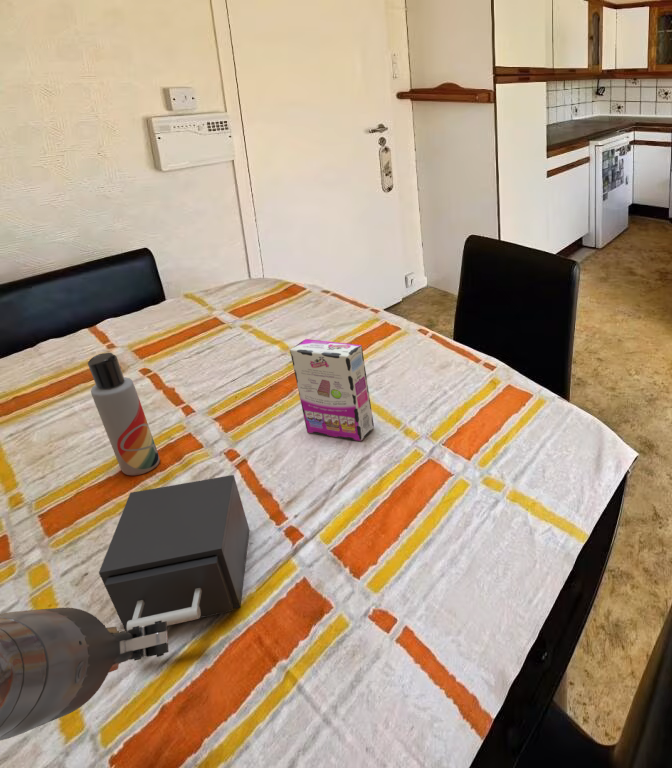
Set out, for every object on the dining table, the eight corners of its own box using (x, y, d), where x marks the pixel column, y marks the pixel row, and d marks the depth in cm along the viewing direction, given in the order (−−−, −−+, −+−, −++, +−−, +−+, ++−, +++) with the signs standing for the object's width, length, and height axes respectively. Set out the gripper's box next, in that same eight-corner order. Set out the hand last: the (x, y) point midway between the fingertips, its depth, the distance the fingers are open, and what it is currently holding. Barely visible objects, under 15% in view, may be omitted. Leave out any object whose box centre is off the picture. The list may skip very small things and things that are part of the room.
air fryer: (240, 607, 76) (221, 548, 71) (126, 632, 73) (98, 572, 68) (249, 529, 88) (233, 474, 84) (152, 548, 85) (130, 492, 81)
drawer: (228, 639, 71) (211, 589, 67) (117, 664, 68) (93, 614, 64) (242, 536, 86) (228, 491, 82) (151, 553, 83) (133, 508, 79)
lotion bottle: (161, 469, 101) (123, 359, 92) (122, 480, 99) (77, 368, 89) (159, 452, 106) (122, 345, 96) (121, 462, 103) (79, 353, 94)
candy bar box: (375, 427, 111) (363, 344, 103) (361, 442, 107) (348, 356, 99) (321, 418, 114) (305, 336, 106) (305, 432, 110) (287, 349, 102)
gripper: (130, 589, 44) (200, 586, 60) (-95, 635, 40) (43, 619, 57) (136, 704, 42) (206, 669, 58) (-100, 762, 39) (44, 708, 55)
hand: (125, 645), depth 57 cm, fingers closed
